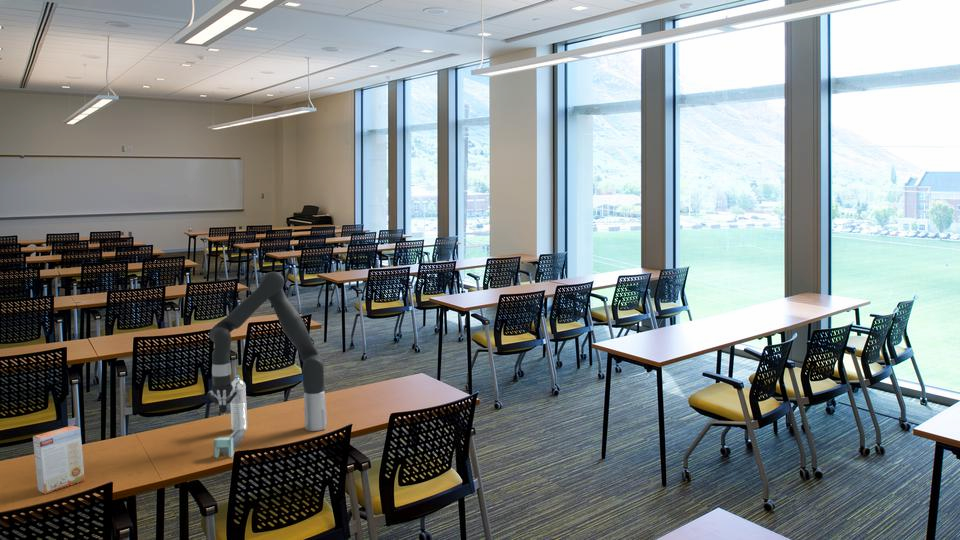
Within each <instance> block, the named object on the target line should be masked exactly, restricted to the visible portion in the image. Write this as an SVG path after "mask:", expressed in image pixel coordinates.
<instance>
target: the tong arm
mask: <svg viewBox="0 0 960 540" xmlns="http://www.w3.org/2000/svg"><path fill="white" fill-rule="evenodd" d="M239 430H240V429H235V431H232V432H231V434H230V435H229V436H228V437H234V436H235V435H236V434H237V432H238V431H239Z"/></svg>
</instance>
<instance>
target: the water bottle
mask: <svg viewBox="0 0 960 540" xmlns="http://www.w3.org/2000/svg"><path fill="white" fill-rule="evenodd" d="M231 382H232V386H233V389H234V390H238V393H237V394H236V396H235V397H234V398H233V400H232V401H231V402H230V403H229V404H230V421H231V422H230V423H231V424H230V425H231V431H232V432H234V431H235V429H244V432H245V431H247V430H248V411H247V410H248V409H247V408H248V407H247V405H248V404H247V393H246V391H247V389H246V388H247V386H246V383H245V381H244V380H242V379H241V378H240V375H238V374H237V375H235V376H234V379H233V380H232V381H231ZM231 393H232V391H231V392H230V394H229V395H230V397H231V396H232V394H231Z"/></svg>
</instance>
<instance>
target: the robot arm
mask: <svg viewBox="0 0 960 540" xmlns="http://www.w3.org/2000/svg"><path fill="white" fill-rule="evenodd" d="M284 286H285V278H284V275H282V274H281V273H280V272H277V271H269V272H267V273H264V274H263V275H262V276H261V277H260V279H259V286H258V287H257V288H255V291H253V292H252V293H251V294H250V295H248V297H246V298H245V299H244V300H243V301H242V302H240V303H239V304H238V305H237V306H236V307H234V309H233V310H232V311H231V312H230V313H229V314H228V315H227V316H226V317H225V318H223V319H221V320H220V321H219V322H218V323H216V324H215V325H214V326H212V328H211V329H210V331H209V333H208V334H209V335H208V337H209V340H210V341H211V342H213V343H214V349H213V351H212V353H211V359H212V360H211V361H212V362H211V363H212V366H211V375H212V376H211V377H212V379H211V380H212V387H211V390H209V391H208V392H207V393H206V396H207V397H208V398H209V399H210V400H211V402H213V403H214V405H219V413H220V414H226V413H227V411H228V404H230V403H231V401H232V400H233V398H234V397H235V396H236V394H237V393H238V390H234V389H233V386H232V382H233V381H232V367H231V356H230V351H231V350H230V349H231V344H232V335H231V333H232V332H233V331H234V330H236V329H237V330H238V329H239V328H240V327H242V326H243V325H244V324H245V323H246V322H247V321H248V319H250V317H251V316H252V315H253V314H254V313H255V312H256V311H257V310H258V309H259V308H260V307H261V306H262V305H263V304H264V303H265V302H266V301H267V300H268V301H269V302H270V304H271V305H272V308H273V309H274V312H275V314H276V317H277V319H278V321H279V323H280V327H282V330H283V331H284V333H285V334H284V335H286V336H287V338H288V339H289V341H290V342H291V343H292V345H293V346H294V347H295V348H296V350H297V352H298V354H299V355H300V358H301V361H302V363H303V364H302V369H301V370H302V372H301V373H302V386H303V387H302V388H303V405H304V406H303V408H304V410H303V411H304V429H305V430H306V431H309V432H317V431H318V432H319V431H322V430H323V431H324V429H325V430H326V428H327V426H326V425H327V422H328V421H327V420H328V419H327V404H326V392H325V390H326V387H325V375H324V370H325V361H324V359H323V357H322V356H321V354H320V353H319V352H318V350H317V347H316V346H315V345H314V343H313V340H312V339H311V336H310V334H309V331H308V328H307V327H306V324H305V322H304V320H303V319H302V316H301V314H300V313H299V311H298V310H297V309H296V307H295V306H294V305H293V304H292V302H291V301H290V300H289V299H288V297H287V295H286V293H285V291H284V289H283V287H284ZM231 391H232V393H231V394H232V396H231V397H230V398H228V396H229V395H230V392H231ZM325 427H326V428H325Z"/></svg>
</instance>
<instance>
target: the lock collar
mask: <svg viewBox="0 0 960 540" xmlns="http://www.w3.org/2000/svg"><path fill="white" fill-rule="evenodd" d="M213 446H214V458H215V457H216V458H215V459H217V457H220V455H221V454H220V452H221V449H220V448H221V447H228V448H229V455H228V458H232V457H233V456H234V455H233V454H234V451H233V437H229V436H228V437H227V436H226V437H225V436H224V437H215V438H214V440H213Z"/></svg>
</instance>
